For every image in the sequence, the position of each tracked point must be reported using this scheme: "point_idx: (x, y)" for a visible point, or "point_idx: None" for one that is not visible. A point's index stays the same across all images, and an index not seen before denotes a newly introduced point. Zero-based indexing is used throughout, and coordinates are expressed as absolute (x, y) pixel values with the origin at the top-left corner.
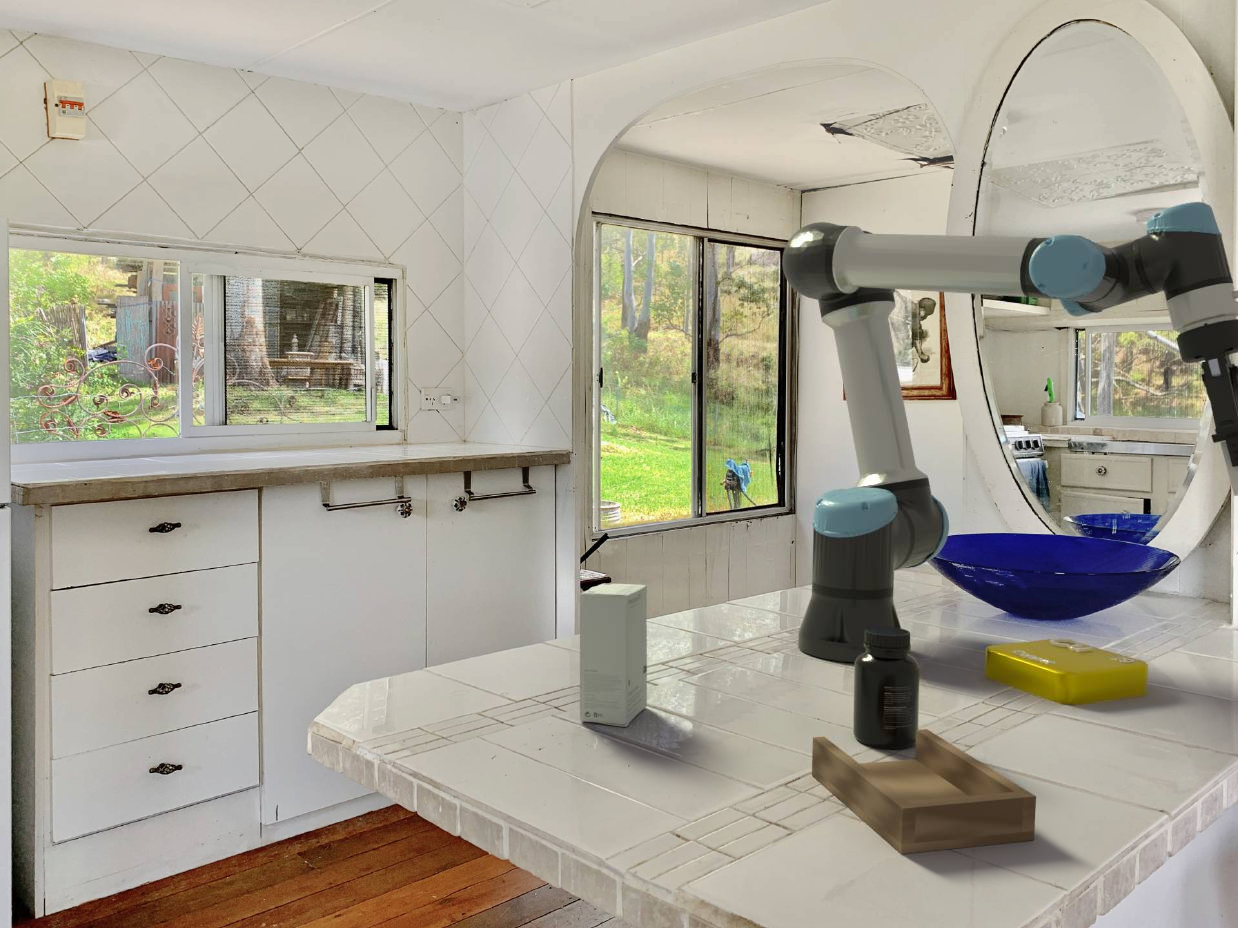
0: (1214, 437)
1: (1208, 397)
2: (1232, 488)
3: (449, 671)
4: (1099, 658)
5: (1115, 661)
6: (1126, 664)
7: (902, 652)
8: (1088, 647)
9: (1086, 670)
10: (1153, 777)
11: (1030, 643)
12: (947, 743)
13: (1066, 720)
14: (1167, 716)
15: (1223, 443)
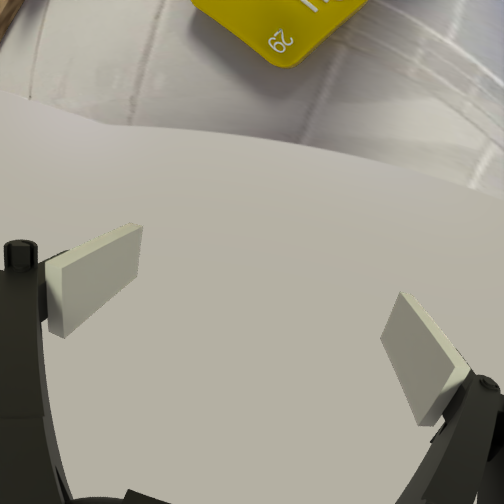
0: (9, 249)
1: (3, 420)
2: (122, 226)
3: None
4: (276, 18)
5: (269, 33)
6: (261, 44)
7: None
8: (314, 7)
9: (208, 8)
10: (65, 85)
11: None
12: (6, 2)
13: (150, 11)
14: (205, 83)
15: (48, 268)
